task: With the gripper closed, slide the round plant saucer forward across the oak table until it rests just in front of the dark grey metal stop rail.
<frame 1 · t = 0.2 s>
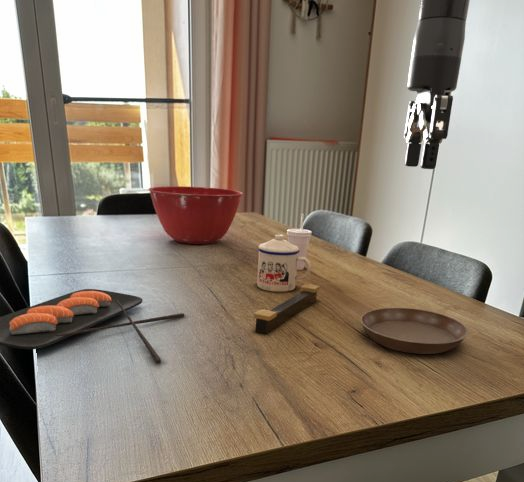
hand: (418, 167, 85), 28 cm above the table, tool pointing down, fingers open, 8 cm apart
smoothie: (296, 268, 134), on the table
plant saucer: (410, 340, 89), on the table
mixing bowl: (195, 240, 163), on the table
stop rail: (288, 314, 98), on the table
sushi plate: (103, 332, 85), on the table
teacup with lid: (282, 288, 116), on the table
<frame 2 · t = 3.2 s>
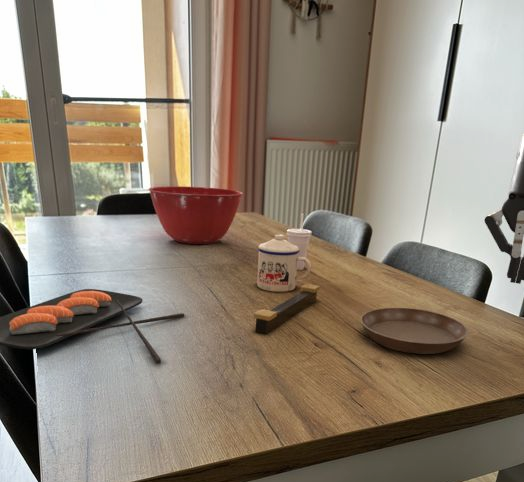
hand: (515, 281, 78), 12 cm above the table, tool pointing down, fingers closed
nothing on the table moved.
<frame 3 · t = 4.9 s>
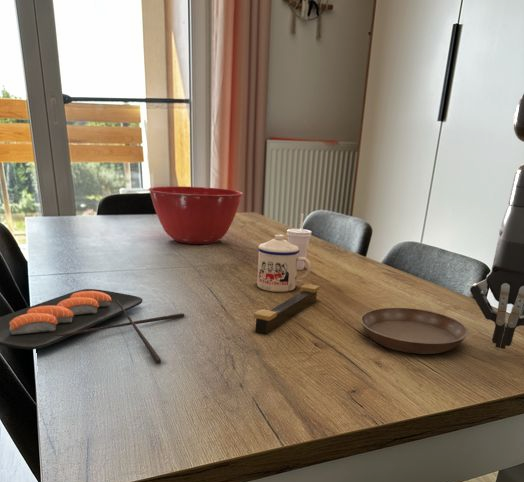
hand: (500, 346, 82), 2 cm above the table, tool pointing down, fingers closed
nothing on the table moved.
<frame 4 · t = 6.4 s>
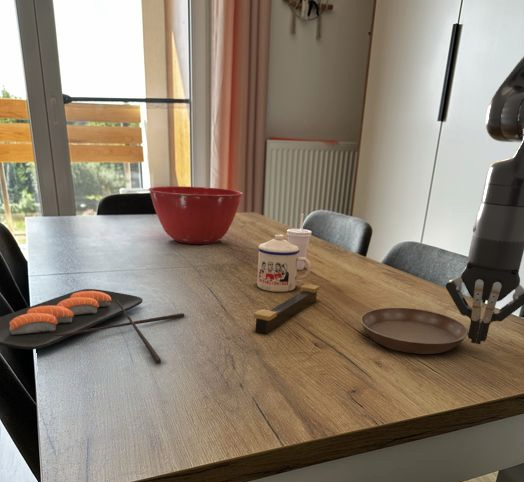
hand: (475, 342, 84), 2 cm above the table, tool pointing down, fingers closed
plant saucer: (410, 340, 89), on the table, touching gripper
everything else where it was.
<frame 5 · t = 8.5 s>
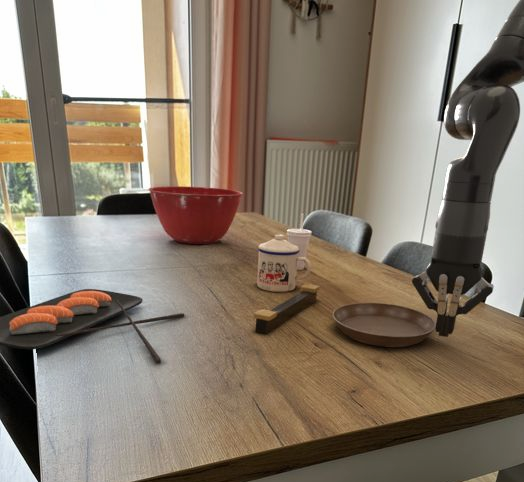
hand: (443, 334, 86), 2 cm above the table, tool pointing down, fingers closed
plant saucer: (381, 334, 91), on the table, touching gripper
everything else where it was.
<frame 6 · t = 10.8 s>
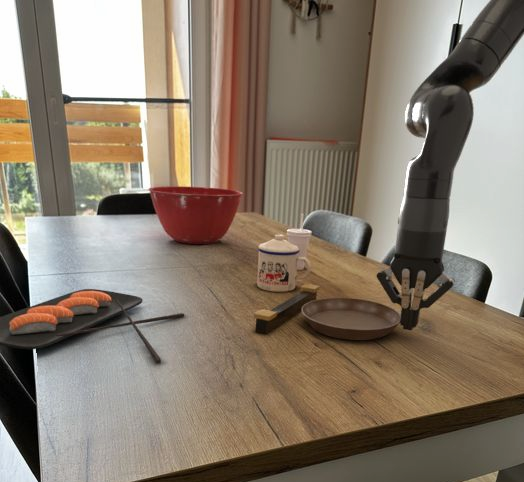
hand: (408, 328, 88), 2 cm above the table, tool pointing down, fingers closed
plant saucer: (348, 328, 93), on the table, touching gripper
everything else where it was.
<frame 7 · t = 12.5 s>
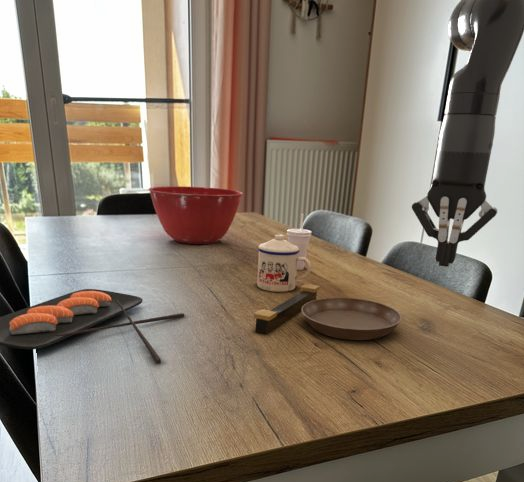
hand: (444, 265, 82), 13 cm above the table, tool pointing down, fingers closed
plant saucer: (348, 328, 93), on the table
everything else where it was.
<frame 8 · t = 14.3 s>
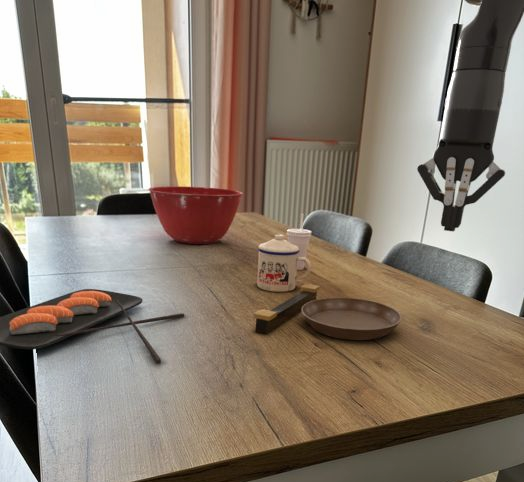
hand: (449, 230, 80), 19 cm above the table, tool pointing down, fingers closed
nothing on the table moved.
at the end: plant saucer inside the target area (1.0 cm from its centre), on the table; plant saucer moved 11.0 cm from its start; plant saucer tilted 0° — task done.
